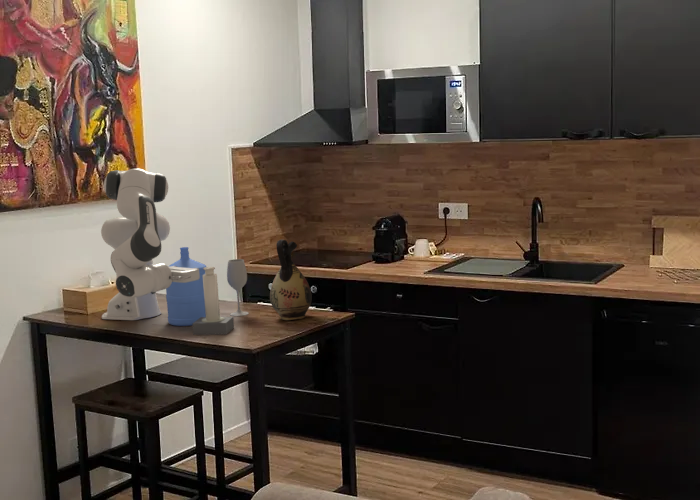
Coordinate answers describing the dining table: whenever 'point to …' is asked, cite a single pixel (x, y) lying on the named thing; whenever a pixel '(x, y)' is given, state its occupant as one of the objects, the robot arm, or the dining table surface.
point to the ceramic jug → (289, 286)
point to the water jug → (186, 294)
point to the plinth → (213, 326)
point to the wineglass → (237, 280)
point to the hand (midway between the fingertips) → (186, 269)
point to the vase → (211, 294)
